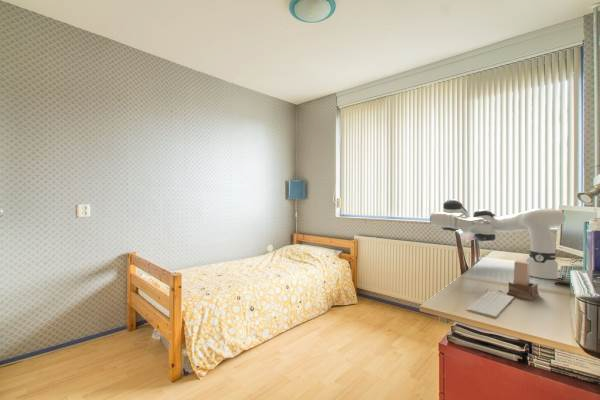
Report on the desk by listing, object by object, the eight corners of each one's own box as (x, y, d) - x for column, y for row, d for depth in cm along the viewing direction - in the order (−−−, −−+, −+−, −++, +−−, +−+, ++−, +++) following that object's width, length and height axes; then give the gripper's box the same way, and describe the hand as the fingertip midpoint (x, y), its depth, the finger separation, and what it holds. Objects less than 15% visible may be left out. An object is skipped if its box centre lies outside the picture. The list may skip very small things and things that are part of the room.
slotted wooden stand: (515, 289, 146) (515, 278, 146) (538, 294, 139) (538, 283, 139) (506, 295, 138) (507, 283, 138) (530, 301, 131) (530, 288, 131)
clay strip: (516, 289, 142) (517, 260, 142) (529, 292, 138) (530, 262, 138) (513, 291, 140) (514, 261, 139) (526, 294, 136) (527, 263, 135)
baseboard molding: (461, 310, 121) (495, 320, 113) (461, 303, 121) (496, 312, 112) (483, 293, 143) (514, 299, 134) (484, 287, 142) (514, 293, 134)
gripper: (466, 225, 171) (494, 228, 160) (450, 227, 158) (479, 230, 147) (467, 214, 170) (494, 216, 160) (451, 216, 158) (479, 218, 147)
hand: (487, 223), depth 153 cm, fingers open, 8 cm apart
